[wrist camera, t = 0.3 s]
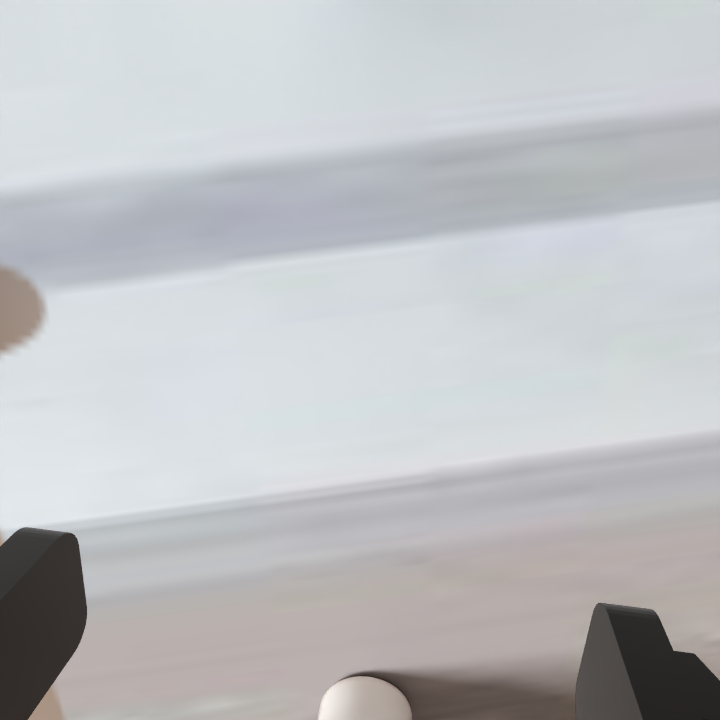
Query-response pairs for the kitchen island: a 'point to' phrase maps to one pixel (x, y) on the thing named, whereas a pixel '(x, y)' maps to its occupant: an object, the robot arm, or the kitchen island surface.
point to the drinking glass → (364, 701)
